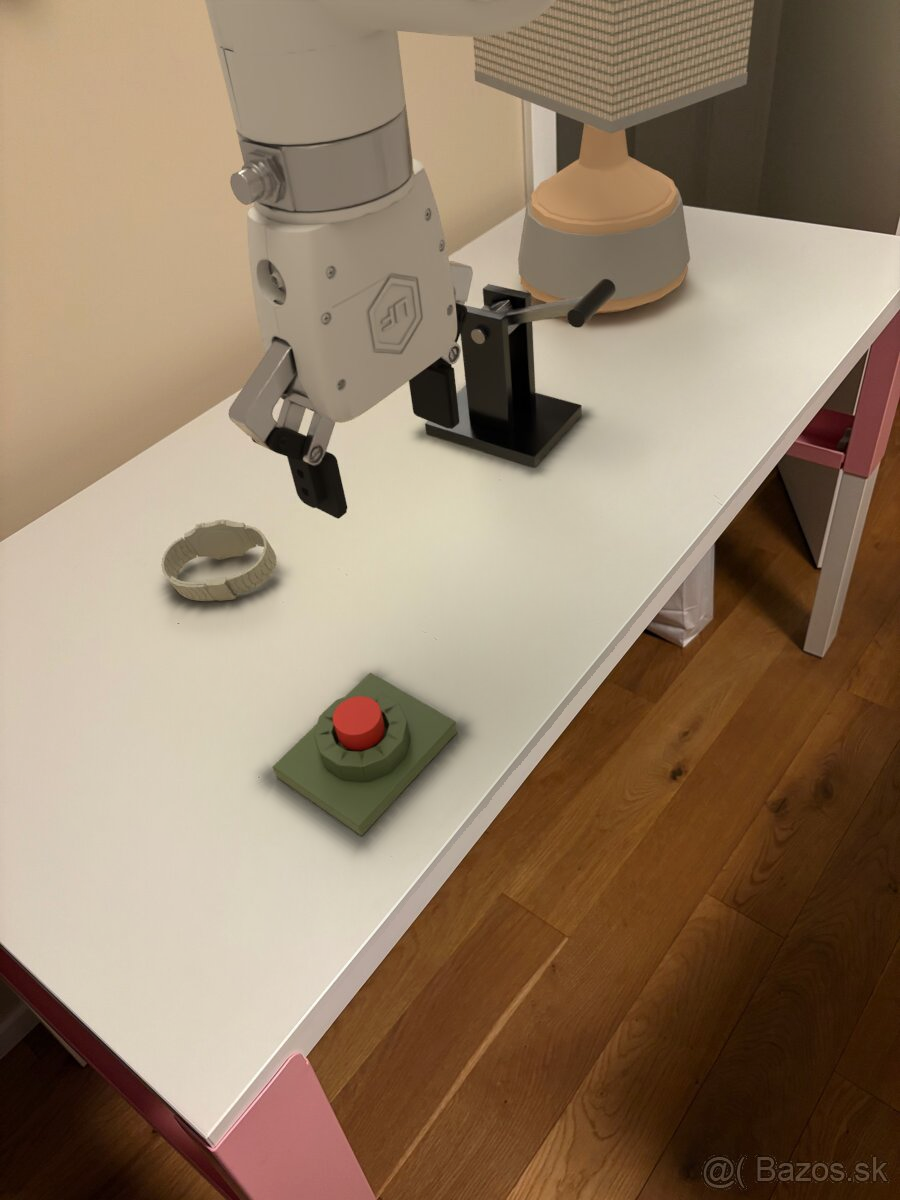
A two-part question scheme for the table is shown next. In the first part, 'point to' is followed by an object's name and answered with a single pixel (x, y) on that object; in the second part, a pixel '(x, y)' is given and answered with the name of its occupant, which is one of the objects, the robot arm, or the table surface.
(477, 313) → the bracket
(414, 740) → the button box
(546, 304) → the lever
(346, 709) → the button
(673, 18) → the desk lamp
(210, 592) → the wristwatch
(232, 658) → the table surface
